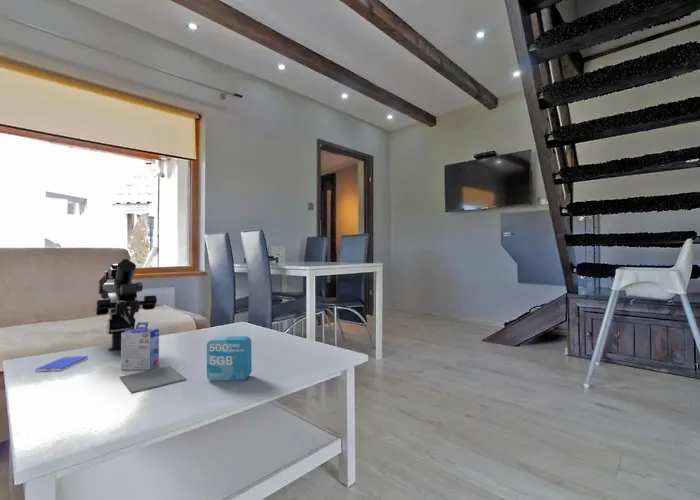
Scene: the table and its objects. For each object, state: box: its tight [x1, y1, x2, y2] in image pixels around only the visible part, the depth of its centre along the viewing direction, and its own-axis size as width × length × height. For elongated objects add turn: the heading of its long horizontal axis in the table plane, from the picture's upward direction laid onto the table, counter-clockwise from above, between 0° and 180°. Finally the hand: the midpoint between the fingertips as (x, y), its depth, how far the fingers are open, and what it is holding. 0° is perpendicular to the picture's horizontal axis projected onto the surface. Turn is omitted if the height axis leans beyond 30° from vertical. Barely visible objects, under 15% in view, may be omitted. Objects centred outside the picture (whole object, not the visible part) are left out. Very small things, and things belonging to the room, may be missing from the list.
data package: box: [206, 335, 253, 382], centre depth 105 cm, size 12×4×12 cm, turn 90°
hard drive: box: [34, 355, 89, 373], centre depth 119 cm, size 2×8×12 cm
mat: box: [119, 365, 187, 394], centre depth 105 cm, size 16×14×1 cm
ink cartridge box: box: [120, 321, 160, 371], centre depth 115 cm, size 10×6×14 cm, turn 89°
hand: (131, 322), depth 125 cm, fingers closed
